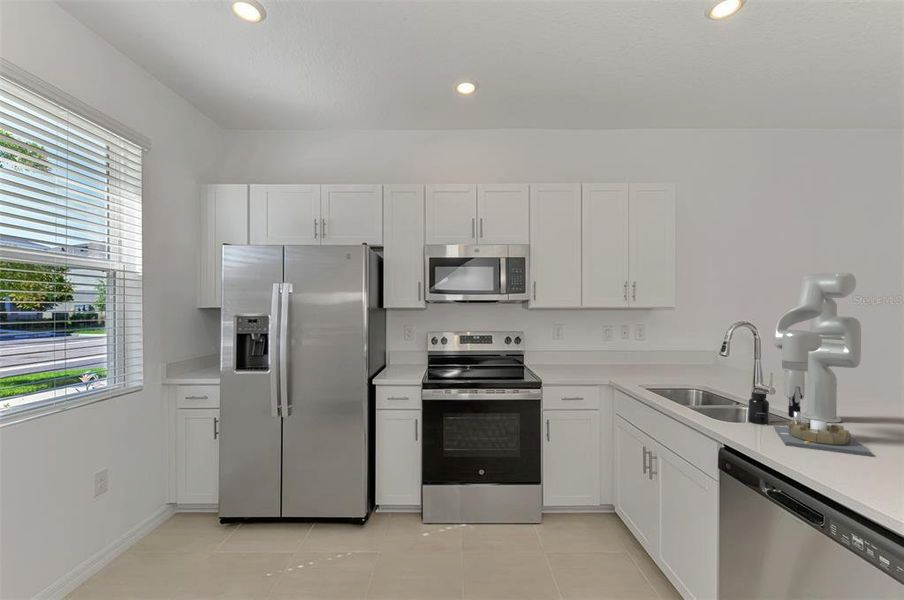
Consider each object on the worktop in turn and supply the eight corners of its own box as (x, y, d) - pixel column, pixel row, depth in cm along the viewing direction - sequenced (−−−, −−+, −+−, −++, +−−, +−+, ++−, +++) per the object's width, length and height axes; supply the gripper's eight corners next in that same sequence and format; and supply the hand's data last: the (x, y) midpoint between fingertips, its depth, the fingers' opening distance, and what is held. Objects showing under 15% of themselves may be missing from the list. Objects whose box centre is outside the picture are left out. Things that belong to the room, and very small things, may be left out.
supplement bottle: (759, 425, 175) (759, 394, 175) (743, 420, 182) (744, 391, 182) (773, 424, 177) (773, 393, 177) (757, 419, 184) (757, 390, 184)
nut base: (774, 429, 171) (774, 410, 171) (849, 437, 160) (849, 418, 160) (785, 445, 151) (785, 424, 151) (871, 456, 141) (872, 434, 141)
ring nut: (785, 428, 167) (785, 406, 167) (841, 434, 159) (841, 411, 159) (794, 439, 152) (794, 416, 152) (856, 447, 145) (856, 422, 145)
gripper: (778, 362, 171) (777, 411, 171) (786, 367, 158) (785, 420, 158) (803, 364, 167) (802, 413, 167) (813, 369, 154) (812, 423, 154)
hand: (794, 416), depth 162 cm, fingers closed
